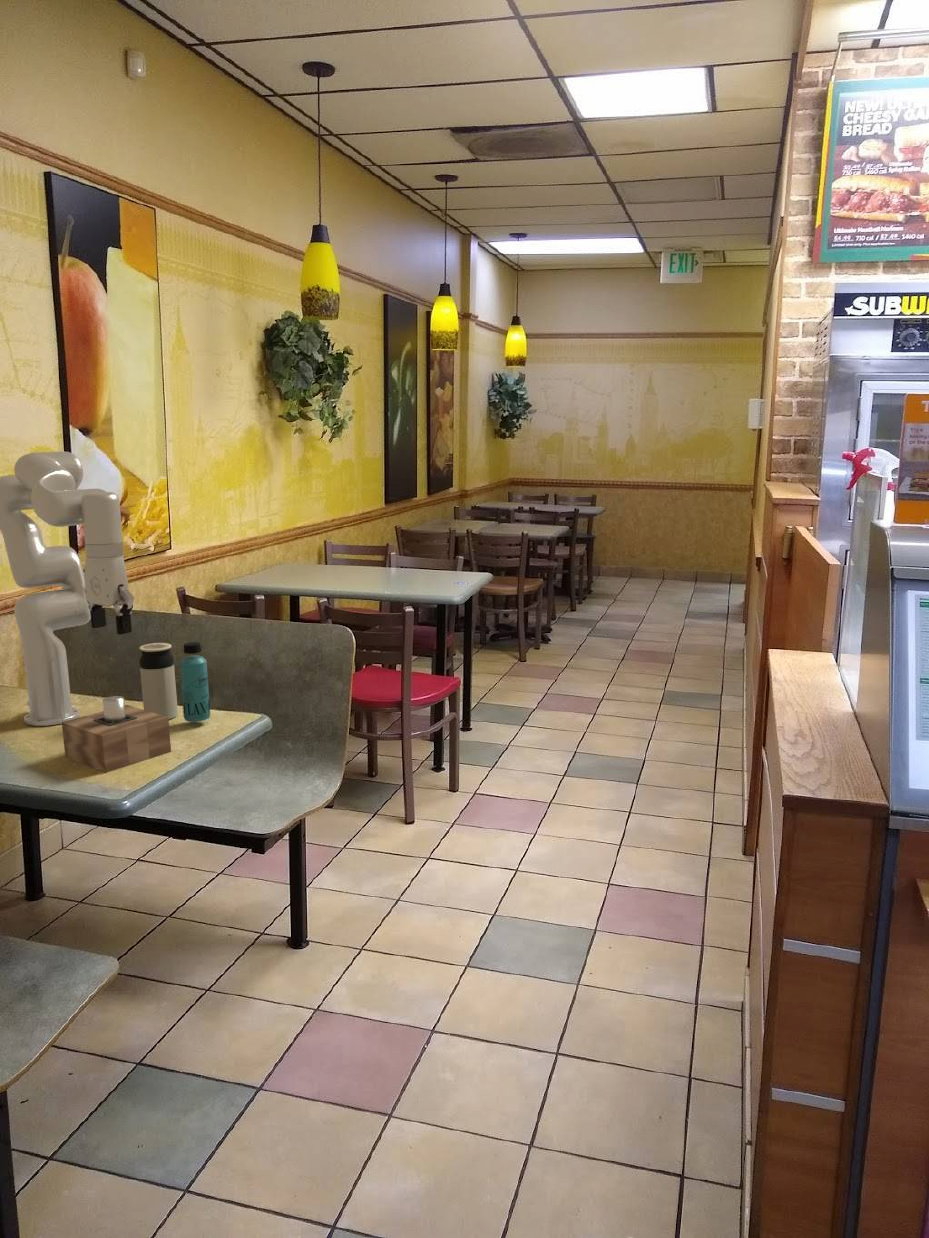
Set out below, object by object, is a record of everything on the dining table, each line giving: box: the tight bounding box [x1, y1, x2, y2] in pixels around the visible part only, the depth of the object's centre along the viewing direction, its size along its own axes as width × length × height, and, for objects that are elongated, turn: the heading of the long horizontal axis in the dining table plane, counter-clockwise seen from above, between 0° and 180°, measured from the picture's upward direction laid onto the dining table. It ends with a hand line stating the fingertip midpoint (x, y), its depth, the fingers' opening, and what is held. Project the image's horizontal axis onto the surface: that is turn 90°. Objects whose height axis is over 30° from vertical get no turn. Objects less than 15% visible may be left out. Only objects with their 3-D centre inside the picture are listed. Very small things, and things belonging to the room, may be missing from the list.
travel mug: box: [139, 642, 179, 720], centre depth 241 cm, size 8×8×18 cm
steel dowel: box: [102, 695, 126, 724], centre depth 215 cm, size 4×4×8 cm
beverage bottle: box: [179, 641, 211, 723], centre depth 235 cm, size 6×7×20 cm
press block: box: [61, 704, 172, 773], centre depth 216 cm, size 16×16×8 cm
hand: (111, 630), depth 211 cm, fingers open, 9 cm apart
